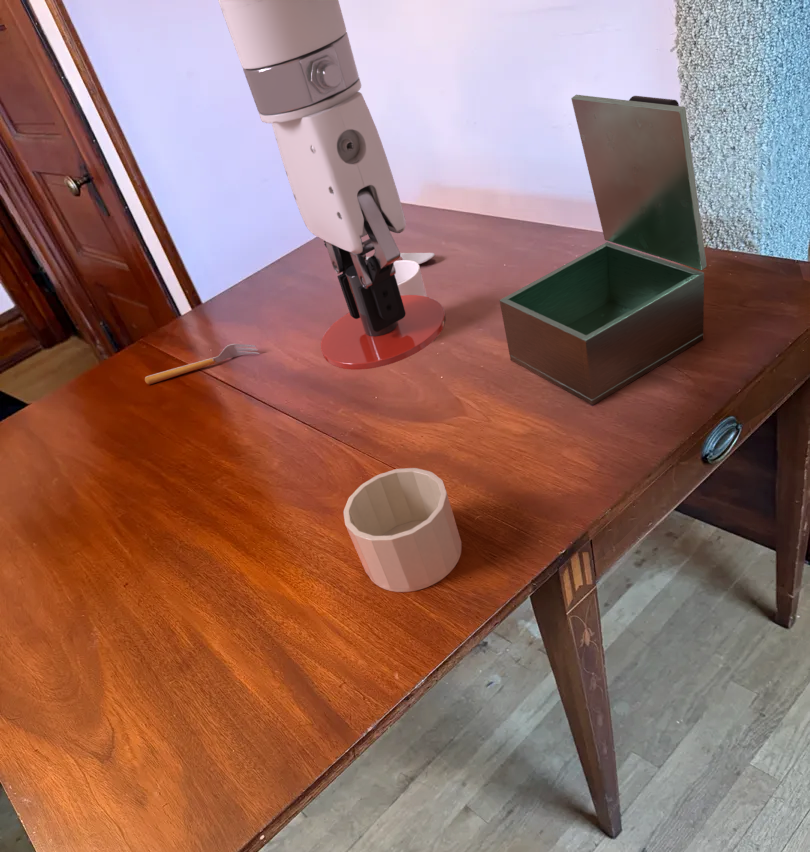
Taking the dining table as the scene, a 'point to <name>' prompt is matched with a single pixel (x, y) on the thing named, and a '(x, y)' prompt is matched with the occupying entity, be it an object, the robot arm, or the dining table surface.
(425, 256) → the spoon
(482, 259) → the dining table surface
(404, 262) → the cup
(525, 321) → the open box
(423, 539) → the pot
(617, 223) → the box lid
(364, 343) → the pot lid
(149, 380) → the fork
